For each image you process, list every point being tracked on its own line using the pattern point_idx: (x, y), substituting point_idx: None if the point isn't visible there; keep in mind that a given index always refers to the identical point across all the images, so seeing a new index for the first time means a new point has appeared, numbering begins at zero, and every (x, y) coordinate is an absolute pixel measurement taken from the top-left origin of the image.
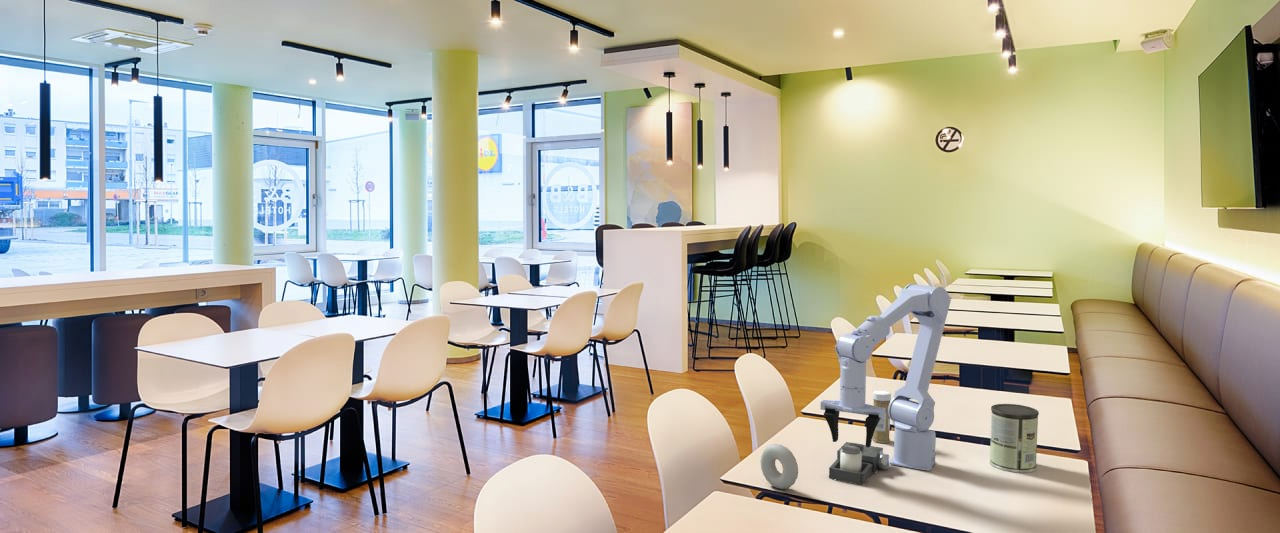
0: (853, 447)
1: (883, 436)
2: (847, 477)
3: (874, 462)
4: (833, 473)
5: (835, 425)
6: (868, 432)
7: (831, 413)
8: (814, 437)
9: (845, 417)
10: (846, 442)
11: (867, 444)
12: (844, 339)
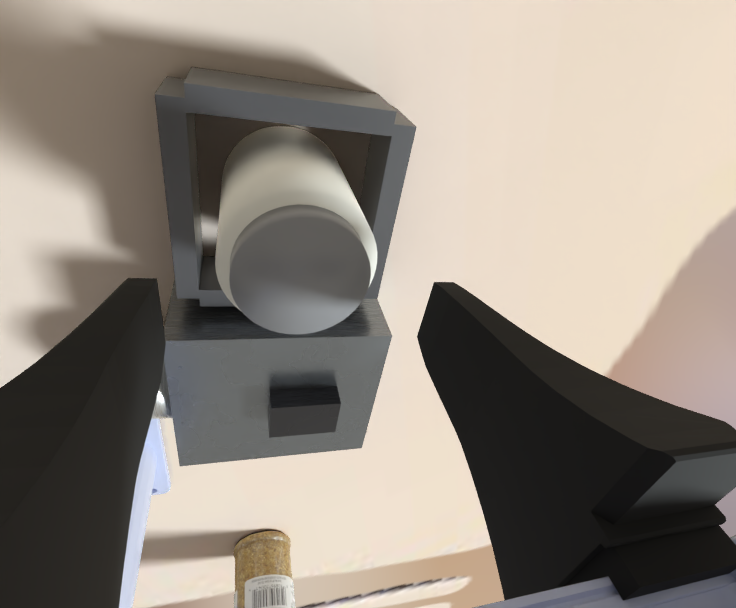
0: (289, 305)
1: (249, 559)
2: (283, 85)
3: (170, 319)
4: (379, 102)
5: (500, 397)
6: (66, 377)
7: (652, 505)
8: (462, 477)
9: (385, 593)
10: (360, 443)
11: (130, 289)
12: None
